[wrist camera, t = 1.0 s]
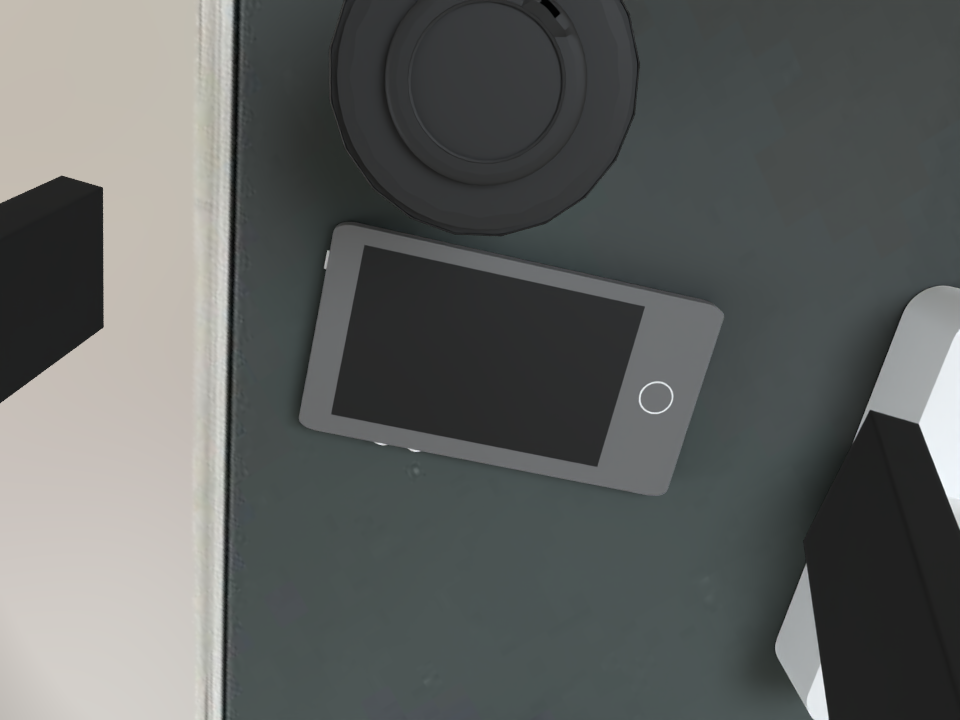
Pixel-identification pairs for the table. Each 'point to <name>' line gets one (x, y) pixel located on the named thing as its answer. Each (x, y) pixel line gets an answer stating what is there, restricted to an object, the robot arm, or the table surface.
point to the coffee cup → (483, 104)
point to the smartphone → (504, 360)
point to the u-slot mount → (946, 429)
